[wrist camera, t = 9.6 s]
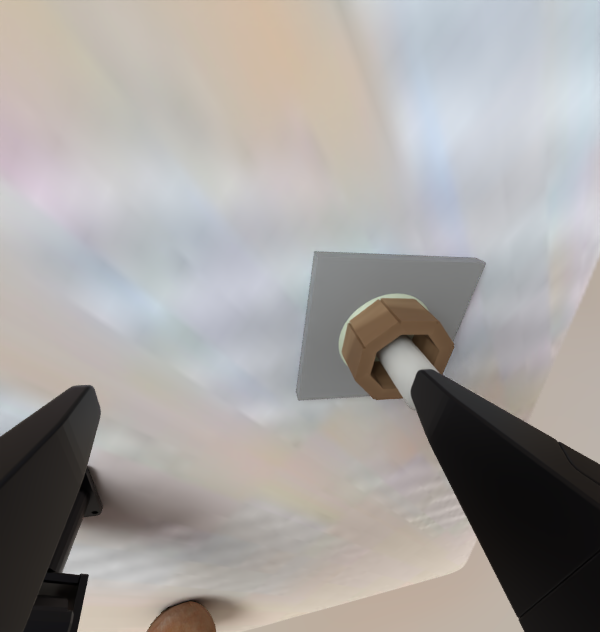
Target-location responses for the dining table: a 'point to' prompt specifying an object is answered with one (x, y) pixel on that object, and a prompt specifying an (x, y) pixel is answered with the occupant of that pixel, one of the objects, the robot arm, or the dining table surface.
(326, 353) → the post board
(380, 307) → the ring
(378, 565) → the dining table surface
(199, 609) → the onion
